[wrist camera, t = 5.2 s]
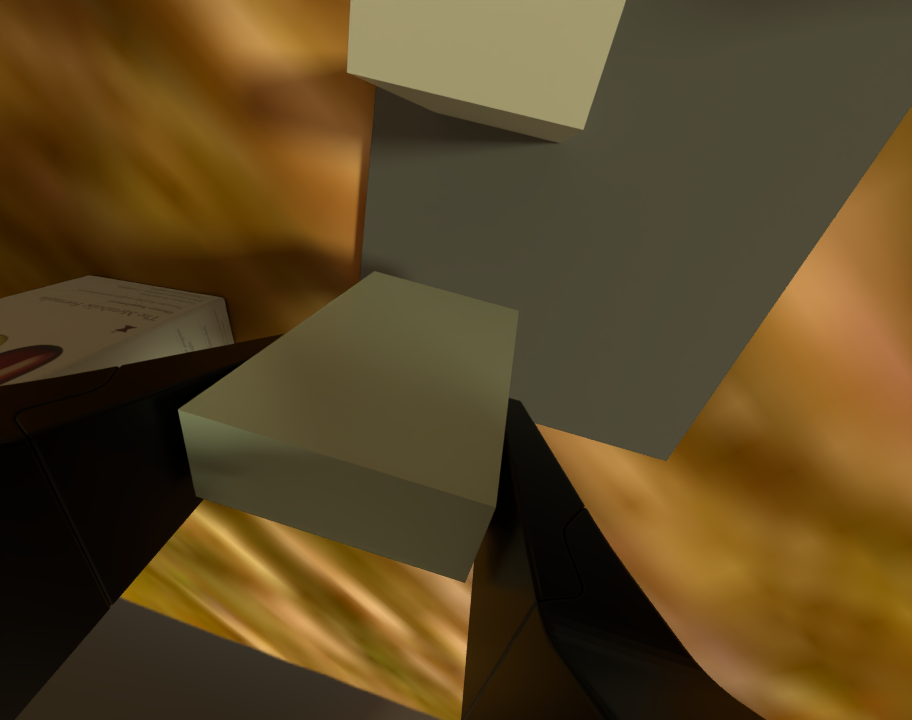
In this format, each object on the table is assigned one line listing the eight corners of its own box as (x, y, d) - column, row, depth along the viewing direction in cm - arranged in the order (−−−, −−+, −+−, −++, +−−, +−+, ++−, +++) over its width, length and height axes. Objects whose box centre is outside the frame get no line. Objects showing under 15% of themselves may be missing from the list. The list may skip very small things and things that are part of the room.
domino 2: (518, 310, 12) (495, 507, 5) (502, 361, 13) (465, 582, 6) (374, 271, 13) (177, 409, 6) (368, 323, 14) (196, 496, 7)
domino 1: (579, 79, 13) (627, -4, 6) (560, 143, 14) (583, 130, 7) (445, 48, 14) (354, -63, 7) (435, 112, 15) (347, 73, 8)
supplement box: (228, 294, 21) (-445, 594, 7) (257, 422, 26) (-108, 770, 11) (82, 271, 22) (-764, 485, 8) (134, 398, 27) (-342, 684, 12)
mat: (1856, -1315, 5) (2014, -1491, 4) (663, 453, 21) (666, 461, 20) (512, -1337, 6) (509, -1482, 5) (356, 364, 22) (352, 370, 21)
